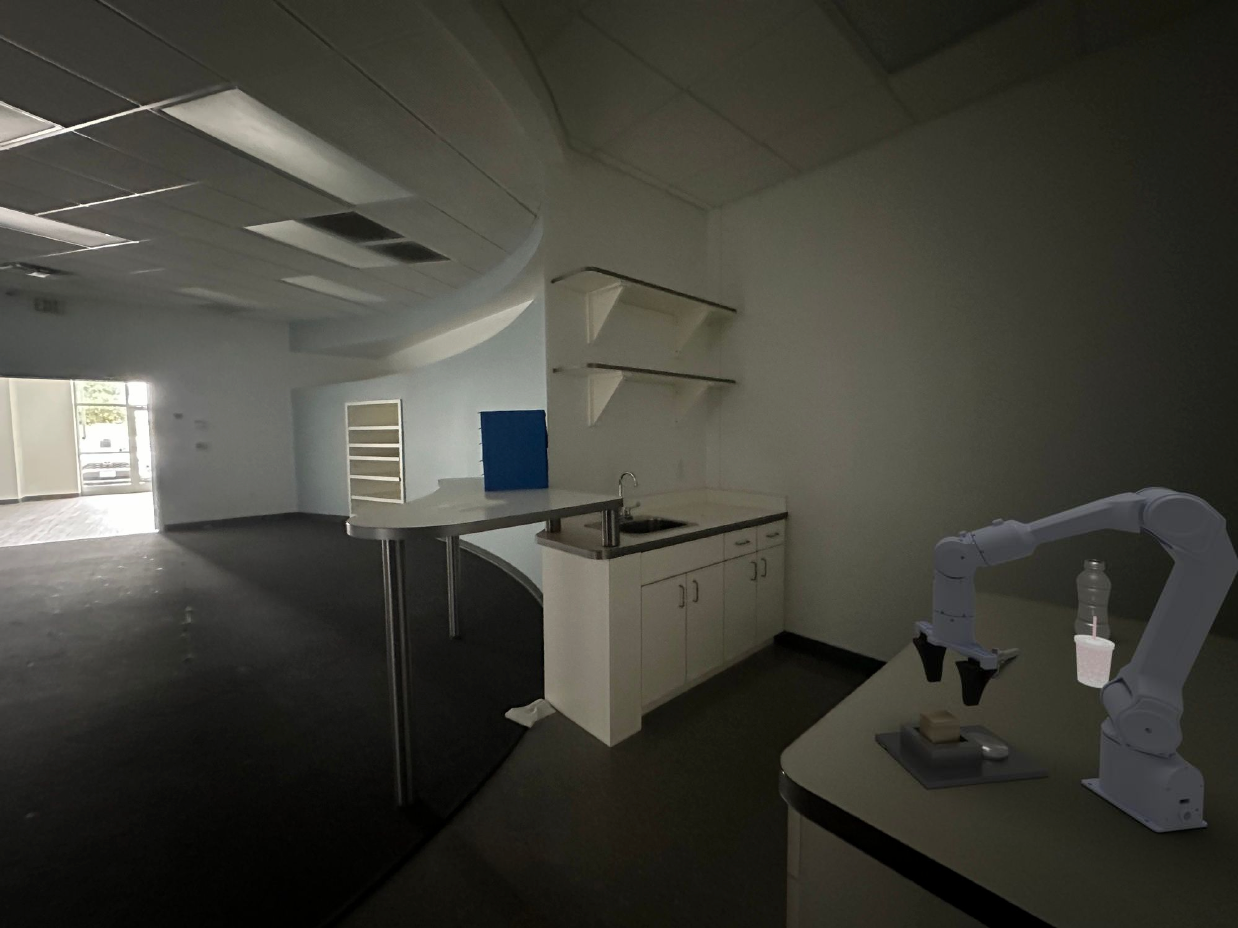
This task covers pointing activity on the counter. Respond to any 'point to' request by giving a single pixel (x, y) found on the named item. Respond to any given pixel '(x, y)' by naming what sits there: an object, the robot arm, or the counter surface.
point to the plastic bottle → (1093, 600)
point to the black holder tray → (959, 757)
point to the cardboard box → (939, 727)
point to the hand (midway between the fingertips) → (951, 692)
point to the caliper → (1004, 656)
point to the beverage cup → (1093, 658)
